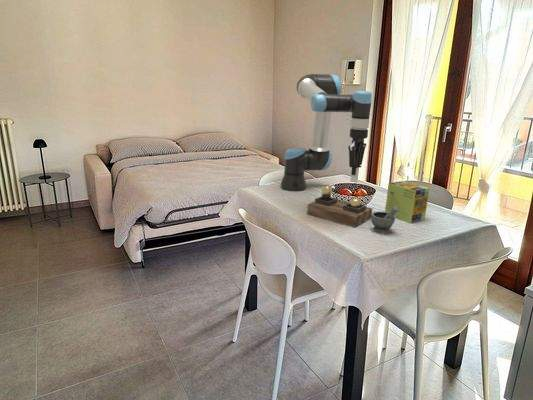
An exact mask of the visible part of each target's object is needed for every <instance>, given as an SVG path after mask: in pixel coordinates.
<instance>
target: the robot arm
mask: <svg viewBox="0 0 533 400" xmlns="http://www.w3.org/2000/svg"><path fill="white" fill-rule="evenodd" d="M296 91H297V94H299V96H300V97H302V98H305V99H307V100H308V101H309V102H310V106H311V110H312V111H313V112H315V116H314V123H313V124H314V125H313V135H312V143H311V144H310V145H309V148H308V150H307V149H306V148H305V147H291V148H288V149H286V151H285V154H284V170H283V171H284V175H283V177H282V180H281V181H280V182H281V183H280V188H281V189H282V190H285V191H291V192H300V191H304V190H306V189H307V181H306V178H305V171H326V170H329V168H330V167H331V164H332V158H333V155H332V152H331V150H330V148H329V146H328V141H329V134H330V133H329V132H330V127H331V126H330V125H331V120H332V113H351V118H350V119H351V120H350V130H349V138H351V139H352V140H351V145H348V147H347V148H348V158H349V159H348V167H349V168H351V171H350V172H351V173H350V182H351V183H358V181H359V171H360V168H362V165H363V161H364V156H365V151H366V147H367V142H365V140H366V139H368V137H369V136H368V135H369V128H370V127H369V126H370V118H371V117H370V116H371V109H372V108H371V107H372V102H373V99H372V98H373V93H372V91H369V90H367V91H366V90H356V91H354V92H353V93H352V94H351V93H350V94H342V82H341V78H340V77H339V76H338V75H336V74H331V73H326V74H325V73H324V74H323V73H322V74H320V73H317V74H316V73H309V74H305V75H304V76H302V77H301V78H299V80H298V81H297V83H296Z"/></svg>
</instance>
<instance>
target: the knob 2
mask: <svg viewBox="0 0 533 400" xmlns="http://www.w3.org/2000/svg"><path fill="white" fill-rule="evenodd" d="M349 203H350V207H353V208H357V209H358V208H360V204H361V198H359V197H351V198H350V201H349Z"/></svg>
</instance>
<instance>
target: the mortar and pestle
mask: <svg viewBox="0 0 533 400" xmlns="http://www.w3.org/2000/svg"><path fill="white" fill-rule="evenodd" d="M398 211H399V209H398V208H397V207H395V206H393V207H392V209H391V211H390V212H389V213H387V212H385V211H374V212H373V211H372V214H371V219H370V220H371V223H372V225H373V226H374V227H373V230H374V231H375V232H376V233H379V234H388V233H389V232H390V229H391V228H392V226H393V225H394V224H395V221H396V218H395V216H394V215H395V214H396V212H398Z"/></svg>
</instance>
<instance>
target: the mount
mask: <svg viewBox="0 0 533 400" xmlns="http://www.w3.org/2000/svg"><path fill="white" fill-rule="evenodd" d="M372 213H373V208H371V207H368V206H367V205H365V204H361V203H360V208H358V209H357V208H353V207H350V202H348V201H347V202H346V201H343V200H338V198H336V197H332V196H331V197H330V198H325V197H322V195H321V196H319V197H316V198H315V199H314V201H313V202H310V203H308V204H307V213H306V214H307V215H308V216H312V217H315V218H319V219H323V220H327V221H328V222H333V223H337V224H340V225H345V226H348V227H351V228H357V227H359V226H361V225H362V224H364V223H366V222H368V221H369V220H371V214H372Z"/></svg>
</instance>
